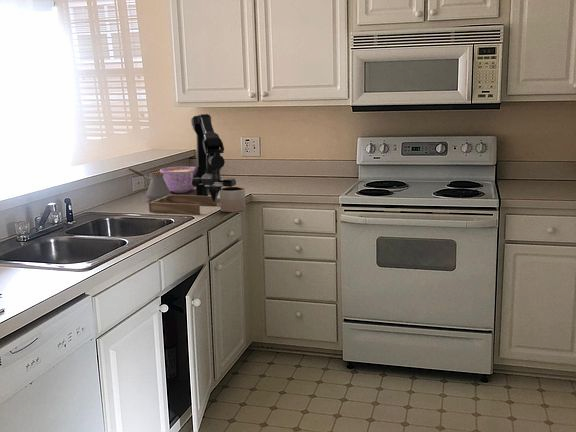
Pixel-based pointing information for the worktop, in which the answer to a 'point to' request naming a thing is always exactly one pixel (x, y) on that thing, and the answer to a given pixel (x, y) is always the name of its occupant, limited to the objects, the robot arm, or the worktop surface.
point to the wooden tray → (180, 204)
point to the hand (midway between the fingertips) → (214, 201)
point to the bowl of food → (178, 178)
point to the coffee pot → (155, 186)
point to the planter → (232, 199)
